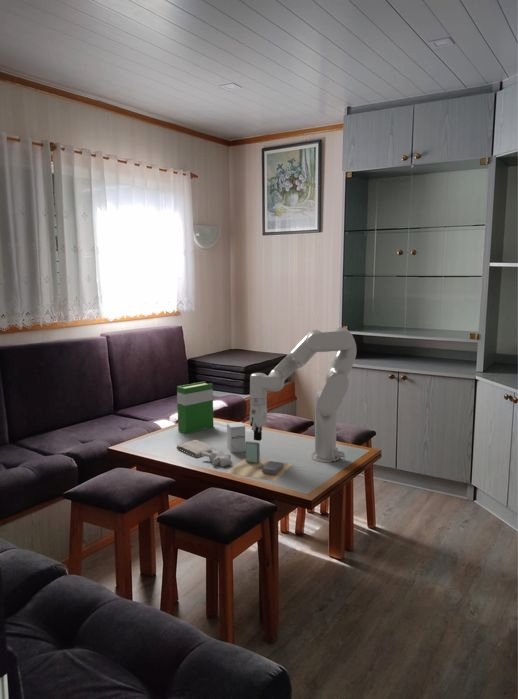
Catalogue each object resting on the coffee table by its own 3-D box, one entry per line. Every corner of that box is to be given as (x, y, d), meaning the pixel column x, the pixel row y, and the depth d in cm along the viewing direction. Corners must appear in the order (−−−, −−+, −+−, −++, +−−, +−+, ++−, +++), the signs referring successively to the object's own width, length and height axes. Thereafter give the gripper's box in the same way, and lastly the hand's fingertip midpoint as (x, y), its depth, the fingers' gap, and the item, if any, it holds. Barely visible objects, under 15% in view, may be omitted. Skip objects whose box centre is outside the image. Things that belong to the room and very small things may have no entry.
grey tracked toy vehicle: (195, 443, 272) (194, 437, 271) (217, 452, 259) (217, 446, 258) (174, 449, 264) (174, 443, 263) (196, 459, 251) (196, 452, 250)
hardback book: (205, 423, 303) (204, 381, 299) (213, 426, 297) (212, 383, 294) (178, 430, 292) (176, 386, 288) (186, 433, 286) (184, 388, 282)
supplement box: (230, 453, 256) (230, 427, 254) (227, 448, 263) (226, 422, 261) (245, 451, 258) (245, 425, 256) (242, 446, 265) (241, 421, 263)
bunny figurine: (219, 461, 235) (199, 448, 246) (219, 472, 236) (198, 459, 247) (236, 456, 241) (216, 444, 252) (236, 466, 243) (215, 454, 253)
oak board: (292, 465, 241) (292, 464, 241) (275, 481, 223) (275, 481, 223) (245, 457, 250) (245, 457, 250) (225, 473, 232) (225, 472, 232)
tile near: (283, 462, 237) (275, 470, 229) (283, 467, 237) (275, 475, 229) (270, 461, 239) (262, 468, 231) (270, 465, 239) (262, 472, 231)
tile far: (259, 462, 244) (259, 442, 242) (257, 463, 242) (257, 444, 240) (247, 460, 246) (247, 441, 245) (245, 461, 244) (245, 442, 243)
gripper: (259, 405, 238) (258, 446, 241) (272, 397, 251) (271, 436, 254) (243, 403, 241) (243, 443, 244) (257, 396, 254) (256, 434, 257)
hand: (257, 439), depth 249 cm, fingers closed
